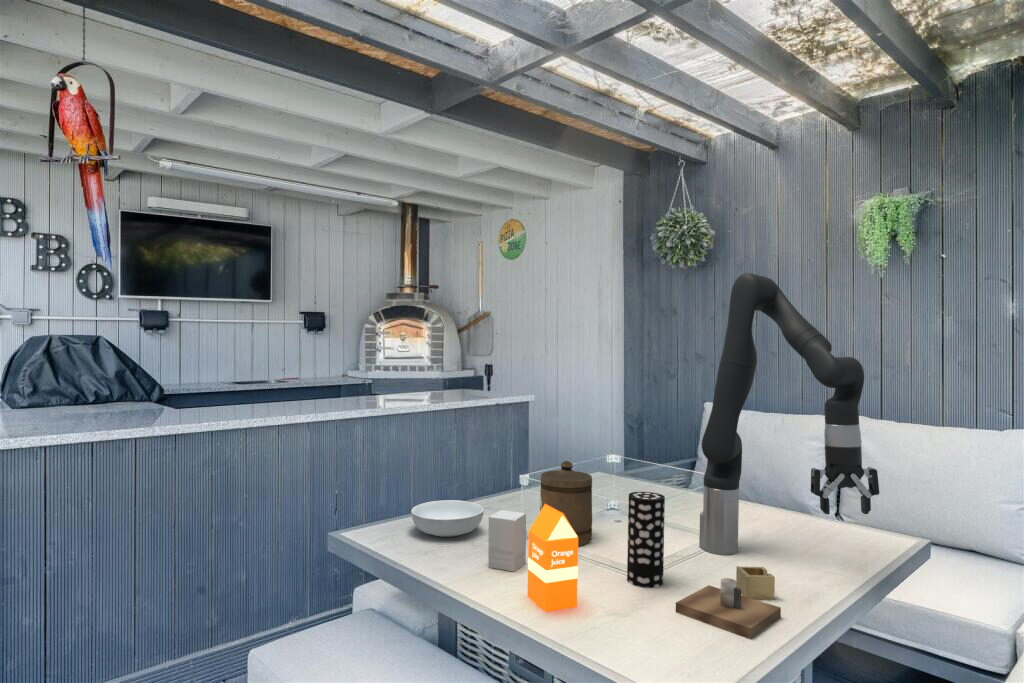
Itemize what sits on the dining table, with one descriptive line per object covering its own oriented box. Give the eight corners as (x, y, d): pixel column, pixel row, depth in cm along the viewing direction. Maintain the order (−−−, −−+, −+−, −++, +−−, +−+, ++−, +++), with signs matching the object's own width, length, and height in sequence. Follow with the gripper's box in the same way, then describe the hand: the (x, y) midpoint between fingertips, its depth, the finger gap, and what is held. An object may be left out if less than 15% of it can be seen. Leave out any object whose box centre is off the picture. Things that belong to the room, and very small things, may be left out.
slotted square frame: (746, 599, 138) (746, 576, 138) (736, 588, 144) (736, 566, 144) (774, 599, 138) (774, 577, 138) (763, 588, 144) (763, 567, 144)
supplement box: (526, 563, 158) (527, 512, 158) (514, 572, 151) (515, 520, 151) (500, 558, 161) (501, 509, 161) (486, 567, 154) (487, 516, 154)
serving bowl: (422, 520, 194) (422, 498, 194) (488, 524, 191) (489, 501, 191) (401, 541, 173) (401, 516, 173) (475, 546, 170) (476, 520, 170)
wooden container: (561, 528, 188) (563, 455, 188) (602, 539, 178) (603, 462, 178) (528, 538, 178) (529, 461, 178) (569, 551, 167) (570, 469, 167)
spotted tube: (642, 590, 142) (644, 501, 142) (619, 577, 149) (621, 493, 149) (670, 584, 146) (672, 498, 146) (647, 572, 153) (648, 490, 153)
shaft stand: (675, 612, 130) (676, 578, 130) (708, 594, 140) (709, 562, 140) (750, 638, 119) (751, 602, 119) (780, 617, 129) (781, 583, 129)
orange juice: (544, 612, 129) (546, 515, 129) (526, 596, 137) (528, 504, 137) (577, 606, 132) (579, 511, 132) (558, 591, 140) (560, 501, 140)
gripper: (867, 440, 148) (870, 509, 148) (804, 441, 150) (807, 509, 150) (883, 445, 141) (885, 517, 141) (816, 446, 142) (819, 518, 142)
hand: (845, 513), depth 145 cm, fingers open, 8 cm apart
